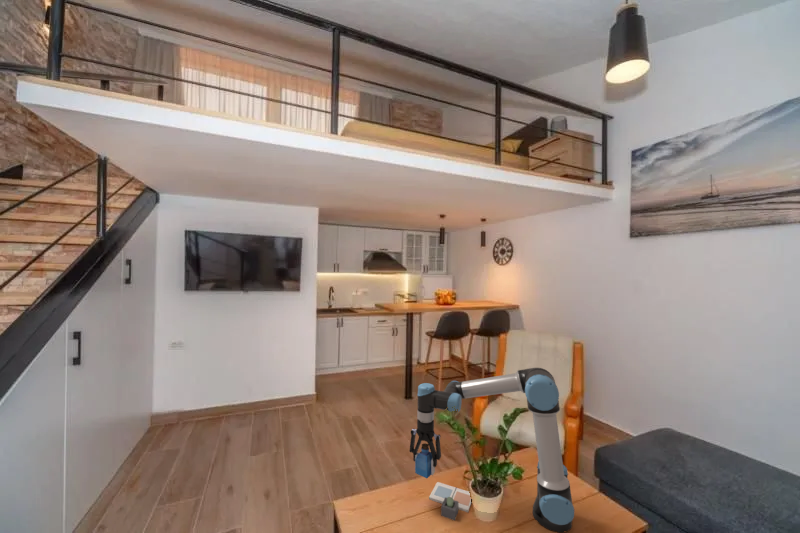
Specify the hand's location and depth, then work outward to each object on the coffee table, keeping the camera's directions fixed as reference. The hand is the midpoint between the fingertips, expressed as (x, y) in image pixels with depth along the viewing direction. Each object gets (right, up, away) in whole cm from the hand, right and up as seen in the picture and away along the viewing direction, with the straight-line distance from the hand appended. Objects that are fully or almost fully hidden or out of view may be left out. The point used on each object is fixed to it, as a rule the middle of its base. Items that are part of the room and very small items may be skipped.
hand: (424, 470), depth 142 cm
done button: (+10, -13, -5) cm, 17 cm away
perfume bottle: (0, -1, 0) cm, 1 cm away
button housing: (+10, -15, -5) cm, 19 cm away
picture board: (+13, -15, +4) cm, 20 cm away
